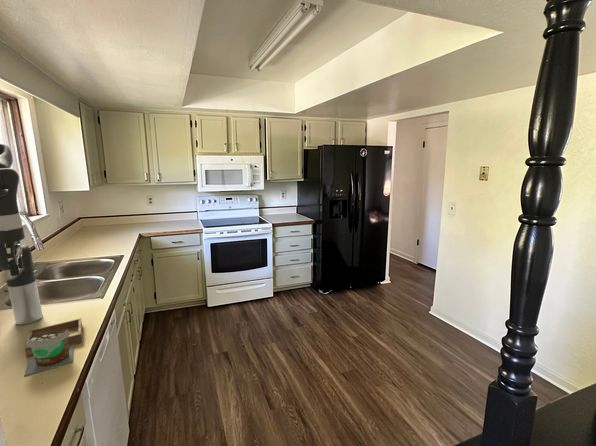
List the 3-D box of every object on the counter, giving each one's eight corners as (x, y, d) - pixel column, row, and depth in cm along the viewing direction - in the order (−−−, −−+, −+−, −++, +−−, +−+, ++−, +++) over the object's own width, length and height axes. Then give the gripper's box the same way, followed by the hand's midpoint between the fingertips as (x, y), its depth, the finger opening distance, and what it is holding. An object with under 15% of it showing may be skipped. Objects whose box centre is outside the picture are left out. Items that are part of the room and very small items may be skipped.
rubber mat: (28, 360, 112) (28, 359, 112) (73, 348, 119) (73, 347, 119) (24, 376, 104) (24, 375, 104) (72, 362, 111) (72, 361, 111)
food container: (23, 371, 105) (17, 344, 103) (33, 360, 111) (27, 334, 109) (66, 365, 109) (61, 338, 107) (73, 354, 114) (69, 329, 112)
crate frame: (31, 338, 126) (30, 330, 125) (82, 325, 135) (80, 318, 134) (26, 357, 114) (24, 348, 113) (82, 342, 123) (80, 333, 122)
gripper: (-2, 225, 114) (7, 268, 117) (-12, 232, 102) (-1, 280, 105) (25, 222, 118) (33, 264, 121) (19, 229, 106) (28, 275, 109)
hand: (17, 271), depth 113 cm, fingers open, 8 cm apart
